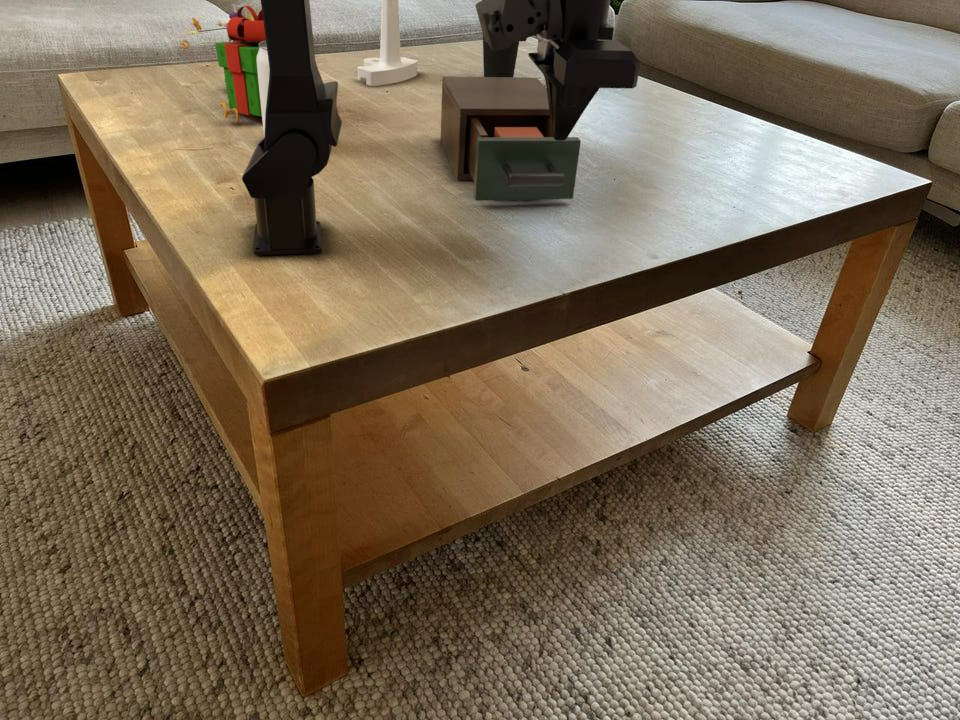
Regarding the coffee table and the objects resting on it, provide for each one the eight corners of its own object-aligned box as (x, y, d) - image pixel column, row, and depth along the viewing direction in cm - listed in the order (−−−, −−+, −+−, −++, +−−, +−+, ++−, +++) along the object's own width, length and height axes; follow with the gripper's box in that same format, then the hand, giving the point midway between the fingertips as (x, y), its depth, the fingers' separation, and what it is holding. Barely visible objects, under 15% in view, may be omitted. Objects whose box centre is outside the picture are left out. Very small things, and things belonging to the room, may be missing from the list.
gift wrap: (280, 103, 119) (271, 1, 112) (355, 121, 107) (349, 8, 101) (156, 118, 106) (137, 4, 99) (225, 140, 94) (209, 13, 88)
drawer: (584, 214, 84) (593, 154, 80) (482, 216, 82) (486, 154, 78) (544, 159, 97) (550, 105, 93) (456, 160, 95) (459, 105, 91)
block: (532, 168, 91) (542, 184, 87) (491, 168, 90) (500, 185, 86) (536, 126, 89) (547, 141, 85) (494, 126, 88) (504, 141, 84)
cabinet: (557, 178, 95) (565, 109, 90) (457, 180, 92) (460, 108, 87) (530, 141, 105) (536, 77, 101) (440, 142, 103) (442, 76, 98)
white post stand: (376, 87, 122) (374, -53, 111) (343, 77, 126) (338, -60, 115) (422, 75, 130) (425, -57, 118) (390, 66, 133) (389, -64, 122)
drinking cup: (469, 85, 127) (476, -51, 116) (482, 74, 133) (490, -56, 122) (514, 91, 125) (525, -45, 114) (525, 80, 131) (537, -51, 120)
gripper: (467, -64, 69) (459, 108, 78) (513, -32, 55) (496, 177, 63) (583, -58, 72) (562, 109, 80) (659, -26, 57) (623, 176, 66)
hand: (559, 139), depth 72 cm, fingers closed
